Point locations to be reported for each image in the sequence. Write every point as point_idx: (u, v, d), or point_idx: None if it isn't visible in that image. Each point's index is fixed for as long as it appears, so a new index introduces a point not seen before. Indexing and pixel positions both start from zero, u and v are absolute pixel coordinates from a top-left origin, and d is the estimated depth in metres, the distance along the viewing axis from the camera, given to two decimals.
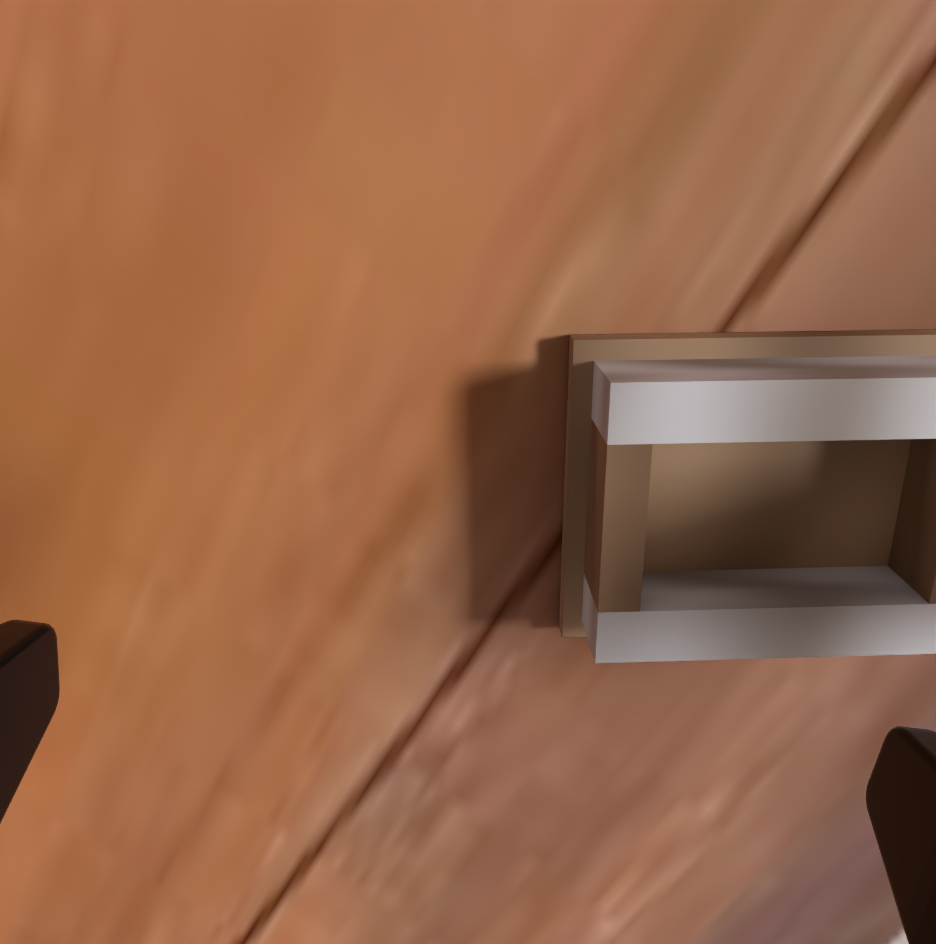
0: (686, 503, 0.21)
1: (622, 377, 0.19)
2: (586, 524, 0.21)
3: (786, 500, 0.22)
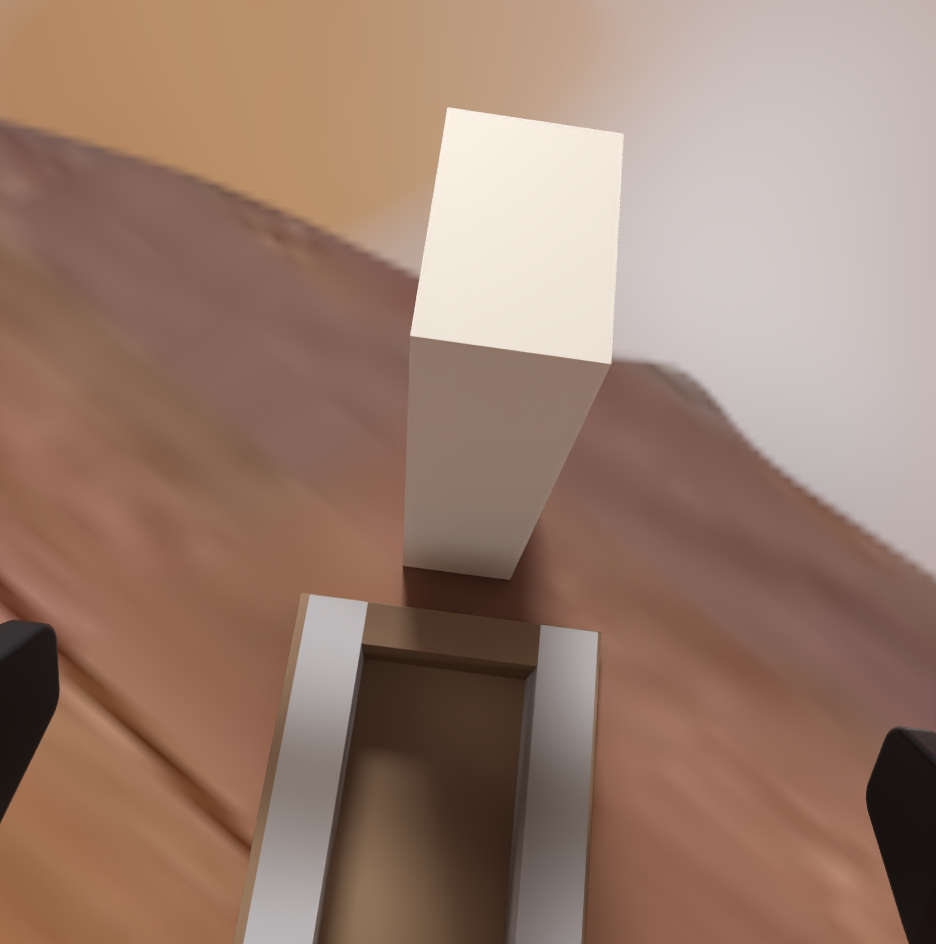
0: (424, 907, 0.20)
1: None
2: None
3: (437, 790, 0.21)
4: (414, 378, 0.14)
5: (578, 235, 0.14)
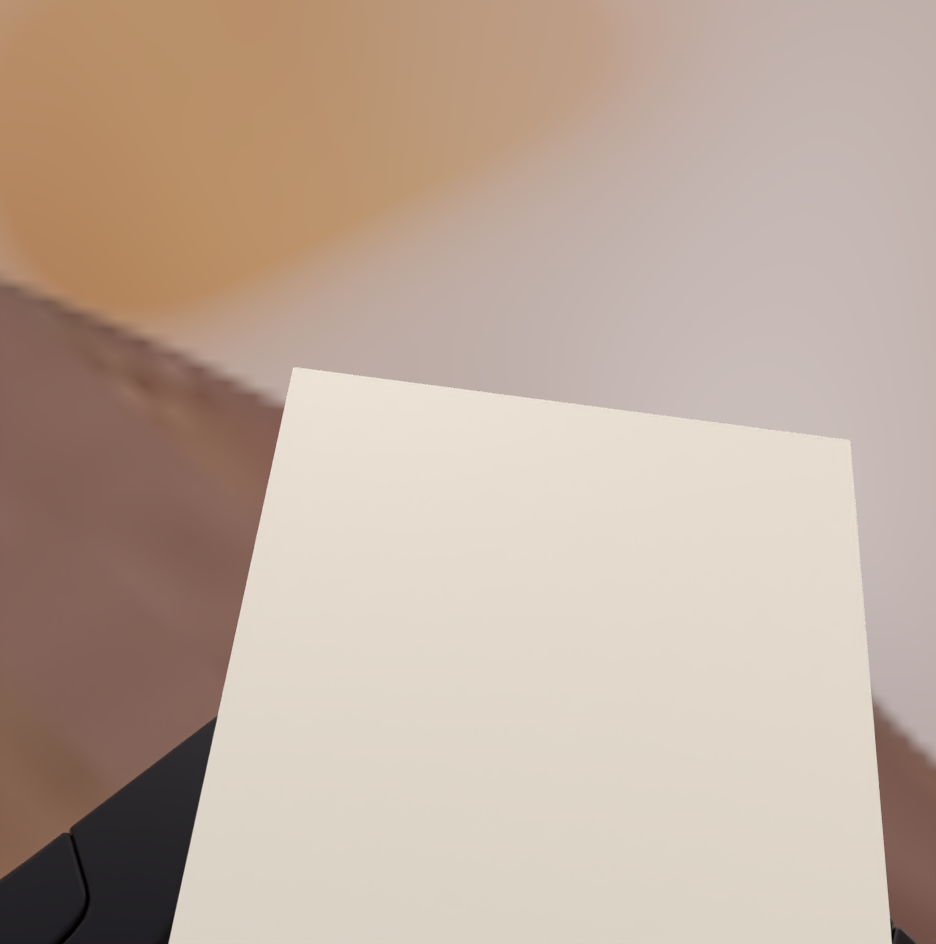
0: None
1: None
2: None
3: None
4: None
5: (746, 887, 0.04)
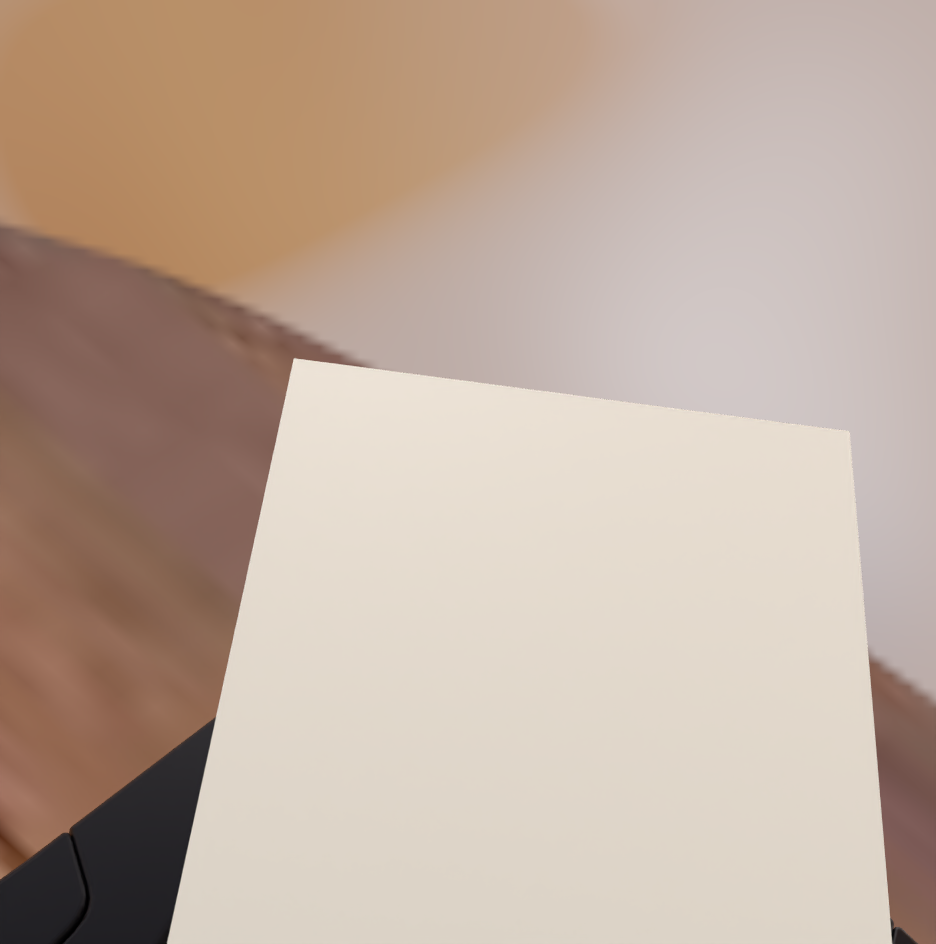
0: None
1: None
2: None
3: None
4: None
5: (746, 875, 0.04)
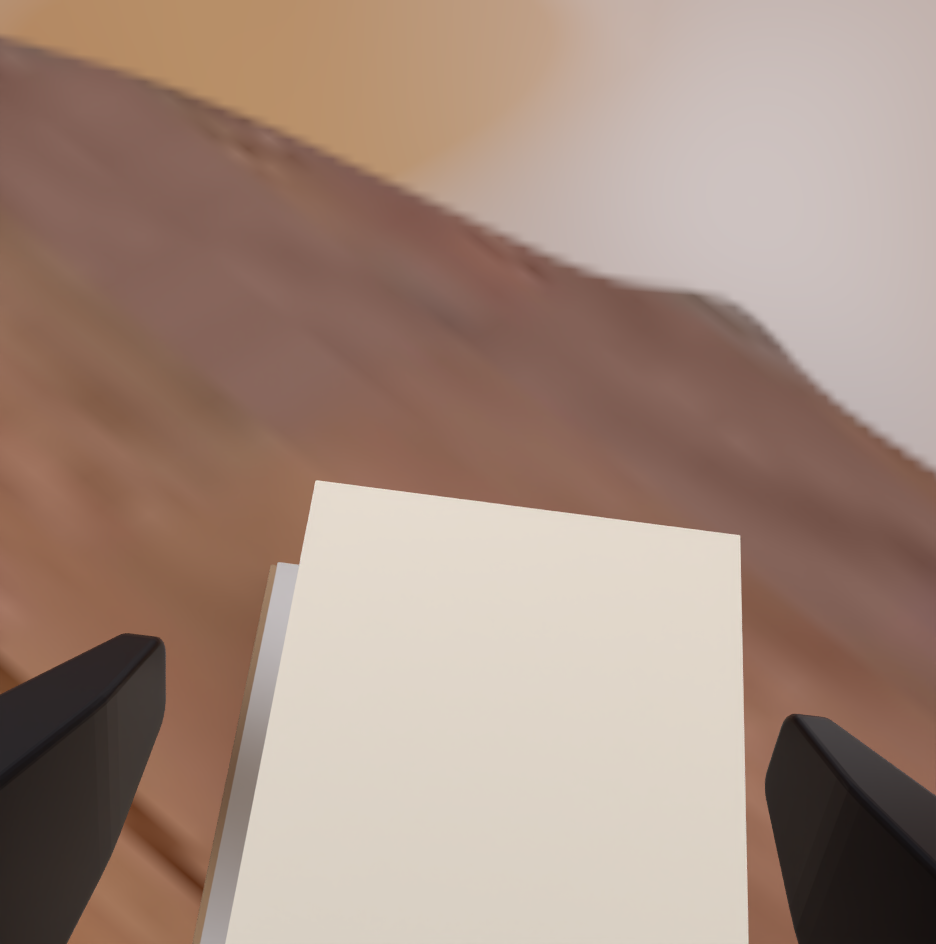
0: None
1: None
2: None
3: None
4: None
5: (643, 876, 0.05)
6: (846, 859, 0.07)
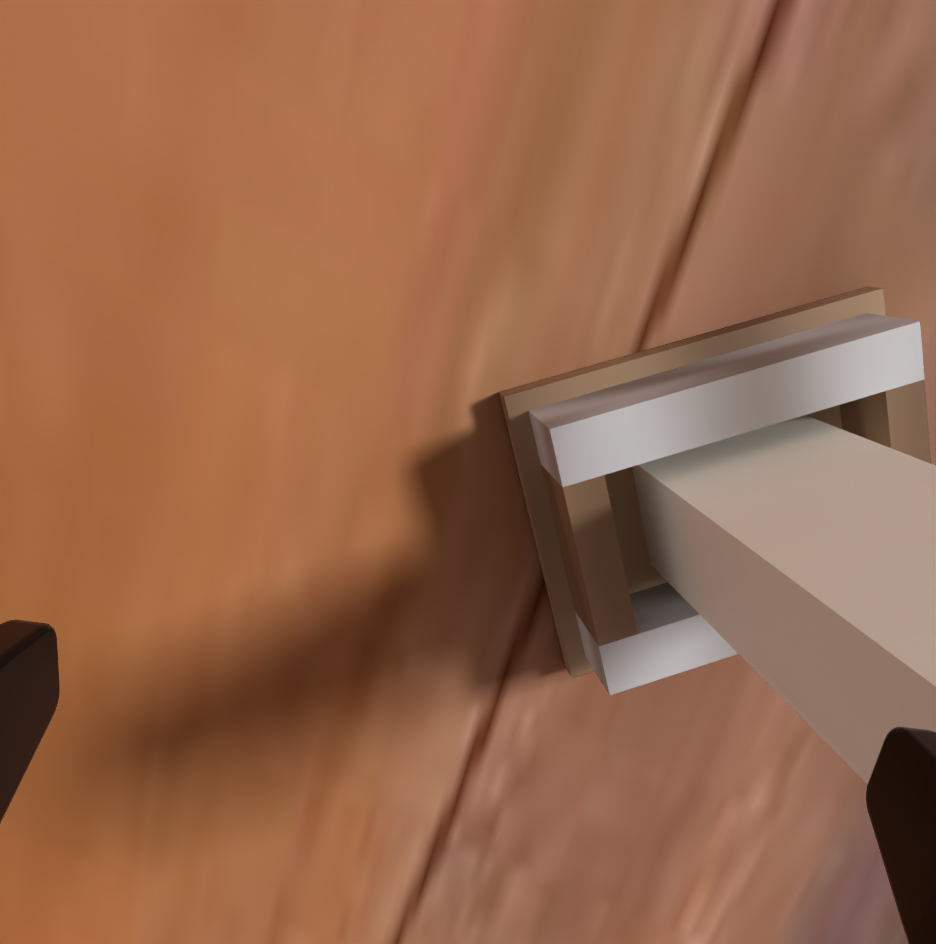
0: None
1: (559, 420, 0.19)
2: (564, 564, 0.22)
3: None
4: (911, 673, 0.11)
5: None
6: None
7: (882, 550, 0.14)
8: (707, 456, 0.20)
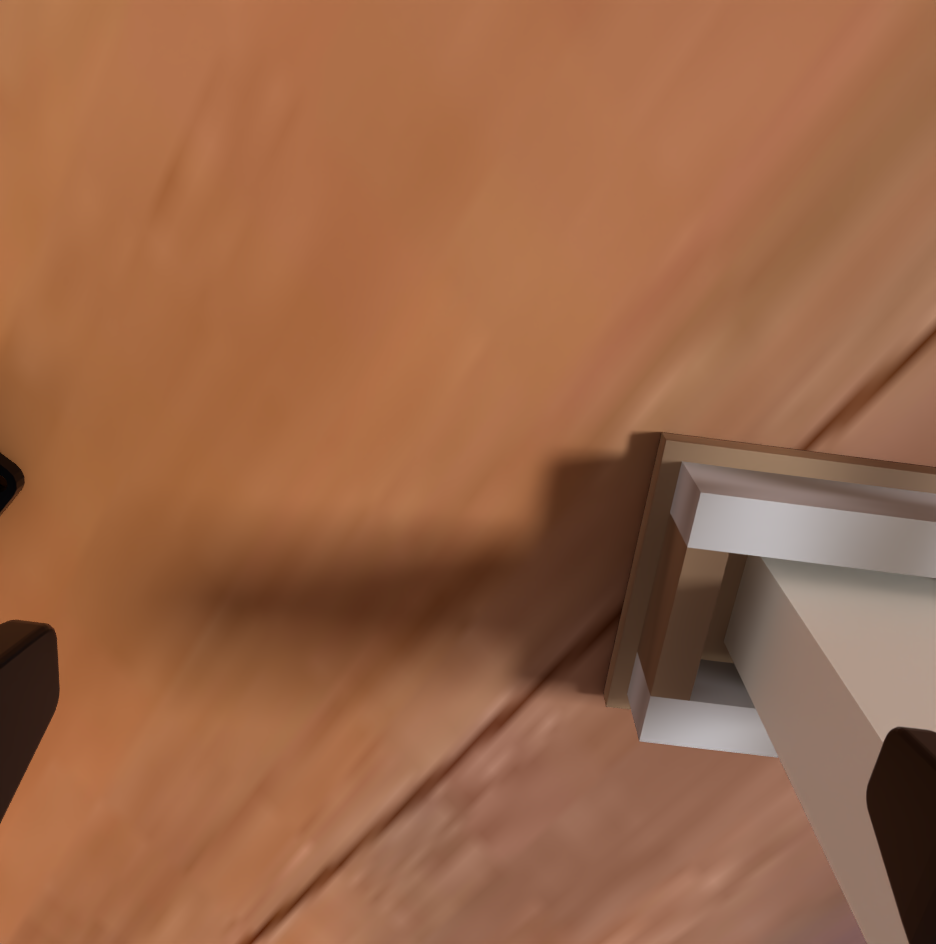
0: None
1: (710, 486, 0.20)
2: (647, 608, 0.23)
3: None
4: None
5: None
6: None
7: None
8: (826, 573, 0.21)
